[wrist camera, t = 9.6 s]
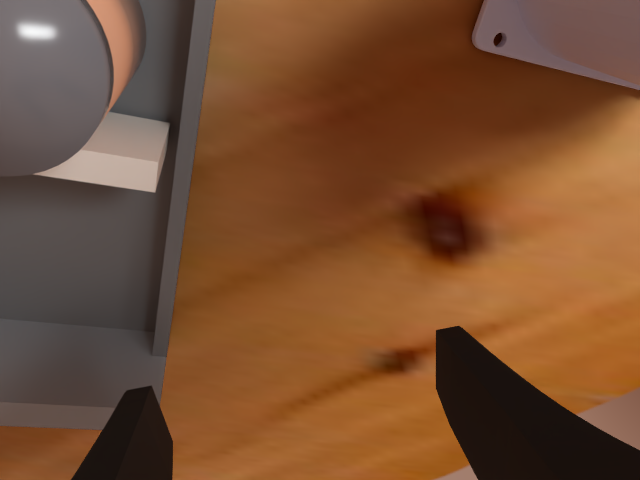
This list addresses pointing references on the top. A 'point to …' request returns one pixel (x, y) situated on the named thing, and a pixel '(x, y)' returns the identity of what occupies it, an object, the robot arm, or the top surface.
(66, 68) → the jar
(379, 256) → the top surface
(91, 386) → the tray
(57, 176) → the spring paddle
